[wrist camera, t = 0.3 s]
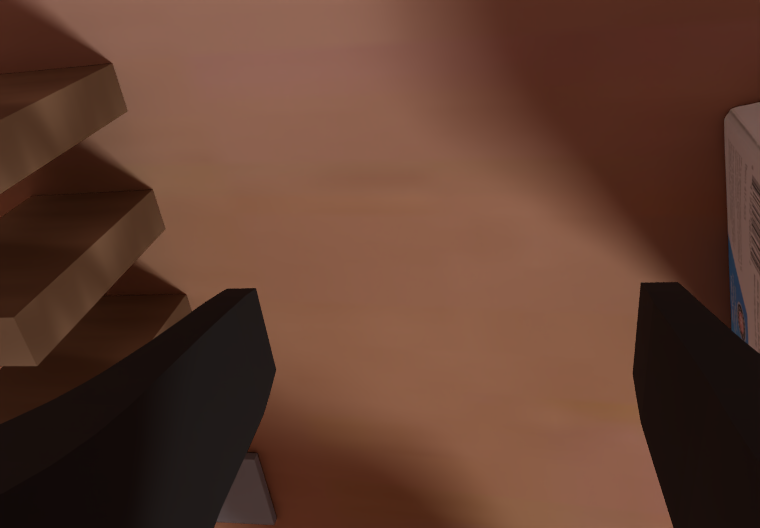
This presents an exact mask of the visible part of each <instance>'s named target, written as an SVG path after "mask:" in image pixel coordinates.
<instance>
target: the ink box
mask: <svg viewBox="0 0 760 528" xmlns="http://www.w3.org/2000/svg"><path fill="white" fill-rule="evenodd" d="M724 140H725V168H726V191H727V220H728V247H729V277H730V303H731V330H732V331H733V332H734V333H735V334H736V335H738V336H739V337H740V338H741V339H742V340H744V341H745V342H746V343H747V344H748V345H750V346H751V347H752V348H753V349H754V350H756V351H757V352H758V353H760V102H758V103H753V104H749V105H744V106H738V107H735V108H732V109H731V110H730V111H729V113H728V114H727V115H726V117H725V119H724Z"/></svg>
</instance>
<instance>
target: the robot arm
mask: <svg viewBox="0 0 760 528" xmlns="http://www.w3.org/2000/svg"><path fill="white" fill-rule="evenodd" d="M275 372H276V367H275V363H274V359H273V355H272V351H271V347H270V343H269V339H268V335H267V331H266V327H265V323H264V319H263V315H262V311H261V307H260V303H259V299H258V295H257V291H256V288H245V289H226V290H224V291H222V292H221V293H219V294H217V295H216V296H214V297H213V298H211V299H210V300H208V301H207V302H205V303H204V304H202V305H201V306H199V307H198V308H197V309H195V310H194V311H192V312H191V313H189V314H188V315H187V316H185V317H184V318H182V319H181V320H180V321H178V322H177V323H175V324H174V325H173V326H171V327H170V328H168V329H167V330H165V331H164V332H163V333H161V334H160V335H158V336H157V337H155V338H154V339H153V340H151V341H150V342H148V343H147V344H145V345H144V346H142V347H141V348H139V349H138V350H136V351H134V352H133V353H131V354H130V355H128V356H127V357H125V358H124V359H122V360H121V361H119V362H117V363H116V364H114V365H113V366H111V367H110V368H108V369H107V370H105V371H103V372H102V373H100V374H98V375H97V376H95V377H93V378H92V379H90V380H88V381H86V382H85V383H83V384H81V385H79V386H77V387H76V388H74V389H72V390H70V391H68V392H66V393H64V394H63V395H61V396H59V397H57V398H55V399H53V400H51V401H49V402H47V403H45V404H43V405H41V406H39V407H36V408H34V409H32V410H30V411H28V412H26V413H23V414H21V415H19V416H17V417H15V418H13V419H10V420H8V421H6V422H4V423H2V424H0V528H214V526H215V524H216V521H217V519H218V516H219V514H220V511H221V509H222V506H223V504H224V502H225V500H226V498H227V495H228V493H229V491H230V489H231V486H232V484H233V482H234V480H235V478H236V475H237V473H238V471H239V469H240V467H241V464H242V462H243V460H244V458H245V455H246V453H247V451H248V449H249V447H250V444H251V442H252V440H253V437H254V435H255V433H256V431H257V428H258V426H259V424H260V421H261V419H262V417H263V414H264V411H265V408H266V405H267V401H268V398H269V395H270V391H271V387H272V383H273V380H274V376H275ZM633 379H634V385H635V391H636V397H637V403H638V409H639V415H640V420H641V425H642V428H643V431H644V435H645V438H646V441H647V444H648V448H649V451H650V454H651V457H652V461H653V464H654V467H655V470H656V473H657V477H658V480H659V483H660V486H661V489H662V493H663V496H664V499H665V502H666V505H667V508H668V512H669V515H670V518H671V521H672V524H673V528H760V353H758V352H757V351H756V350H754V349H753V348H752V347H751V346H750V345H748V344H747V343H746V342H745V341H744V340H742V339H741V338H740V337H739V336H738V335H736V334H735V333H734V332H733V331H732V330H731V329H729V328H728V327H727V326H726V325H725V324H724V323H723V322H721V321H720V320H719V319H718V318H717V317H716V316H715V315H714V314H713V313H711V312H710V311H709V310H708V309H707V308H706V307H705V306H704V305H703V304H701V303H700V302H699V301H698V300H697V299H696V298H695V297H694V296H693V295H692V294H691V293H690V292H688V291H687V290H686V289H685V288H684V287H683V286H682V285H681V284H679V283H678V282H656V283H641V287H640V298H639V309H638V321H637V332H636V343H635V354H634V365H633Z"/></svg>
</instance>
